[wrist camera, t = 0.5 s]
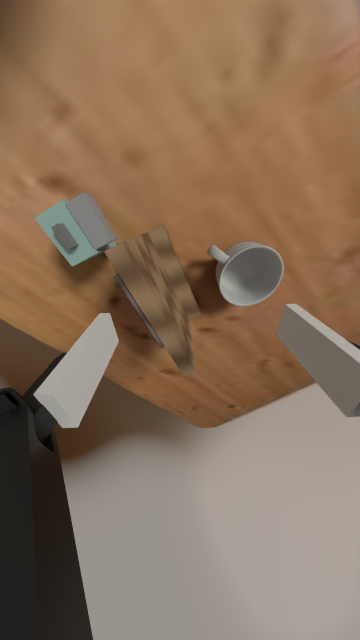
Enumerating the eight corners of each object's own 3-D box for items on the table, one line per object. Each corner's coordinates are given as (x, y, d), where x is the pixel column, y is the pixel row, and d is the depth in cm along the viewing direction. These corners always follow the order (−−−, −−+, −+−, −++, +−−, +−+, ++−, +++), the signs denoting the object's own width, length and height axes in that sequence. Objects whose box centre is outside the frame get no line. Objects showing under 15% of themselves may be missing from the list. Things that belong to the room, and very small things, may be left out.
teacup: (272, 266, 34) (296, 277, 28) (231, 300, 38) (243, 317, 32) (232, 212, 29) (249, 210, 23) (190, 258, 33) (193, 268, 27)
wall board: (127, 243, 32) (79, 264, 16) (163, 224, 30) (148, 227, 15) (170, 321, 41) (166, 381, 26) (200, 310, 40) (214, 367, 24)
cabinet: (68, 220, 30) (23, 220, 21) (107, 197, 28) (75, 186, 19) (93, 257, 33) (63, 270, 24) (129, 238, 31) (111, 245, 23)
